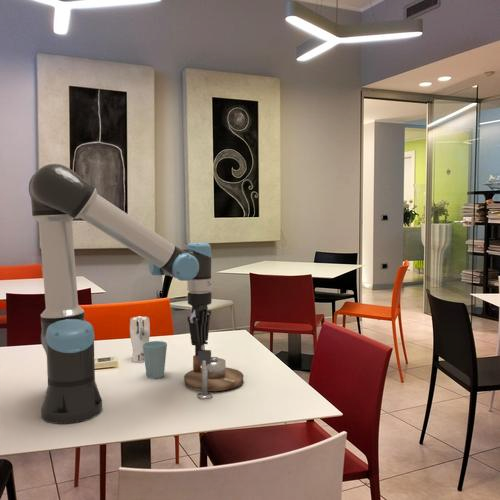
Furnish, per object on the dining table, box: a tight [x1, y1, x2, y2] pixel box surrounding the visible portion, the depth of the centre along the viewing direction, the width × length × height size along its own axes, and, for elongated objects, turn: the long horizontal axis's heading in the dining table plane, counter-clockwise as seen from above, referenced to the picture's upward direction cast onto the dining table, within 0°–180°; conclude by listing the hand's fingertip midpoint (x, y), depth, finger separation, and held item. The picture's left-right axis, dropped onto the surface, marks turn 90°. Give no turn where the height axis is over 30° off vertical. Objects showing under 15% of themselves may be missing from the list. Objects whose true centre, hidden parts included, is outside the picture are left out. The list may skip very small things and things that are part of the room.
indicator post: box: [196, 349, 213, 401], centre depth 146 cm, size 4×4×13 cm
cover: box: [207, 356, 227, 379], centre depth 158 cm, size 7×7×6 cm
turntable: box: [183, 354, 244, 392], centre depth 158 cm, size 18×18×6 cm
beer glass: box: [129, 316, 151, 363], centre depth 183 cm, size 7×7×15 cm
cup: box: [143, 340, 168, 379], centre depth 165 cm, size 8×8×10 cm
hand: (200, 364), depth 165 cm, fingers closed
